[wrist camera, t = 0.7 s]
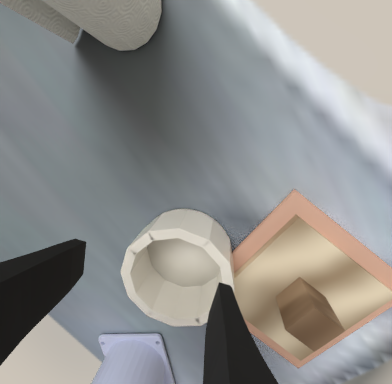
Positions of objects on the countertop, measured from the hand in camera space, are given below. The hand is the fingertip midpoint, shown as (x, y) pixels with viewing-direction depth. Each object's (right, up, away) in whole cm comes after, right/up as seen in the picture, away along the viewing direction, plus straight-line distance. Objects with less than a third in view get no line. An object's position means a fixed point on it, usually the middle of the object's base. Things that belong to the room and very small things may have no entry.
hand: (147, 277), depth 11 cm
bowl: (+1, -2, +10) cm, 11 cm away
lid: (+12, -5, +9) cm, 16 cm away
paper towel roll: (-3, +19, +6) cm, 20 cm away
